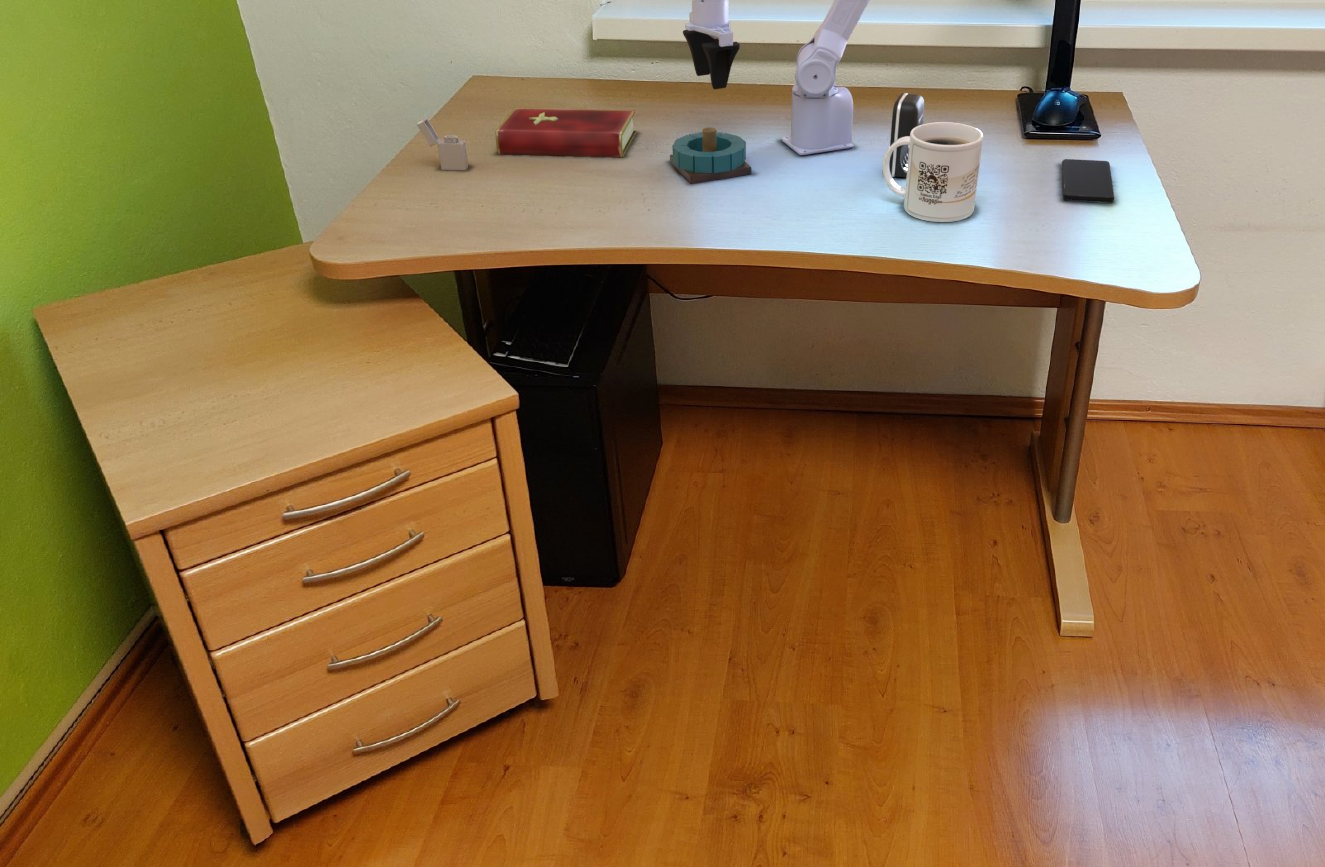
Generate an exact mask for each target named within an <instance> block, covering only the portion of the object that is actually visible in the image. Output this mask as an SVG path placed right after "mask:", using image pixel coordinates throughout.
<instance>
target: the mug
mask: <svg viewBox="0 0 1325 867" xmlns="http://www.w3.org/2000/svg"><path fill="white" fill-rule="evenodd" d="M983 141H984V134H983V132H982V131H981V130H980V129H979V128H976V127H975V126H972V125H969V124H965V123H959V122H950V121H937V122H936V121H935V122H929V123H923V125H919V126H917V127H915V128H913V129H912V131H911V132H910V136H906V137H902V138H899V139H898V140H896V141H895V142H894V143H893V144H892V145H891V146H890V145H889V148H888V149H887V150H886V152H885V154H884V155H883V160H882V176H883V180H884V182H885V183H886V186H887V187H888V189H889V190H891V192H893V193H894V194H895V195H898V196H900V197H904V201H903V209H904V211H905V213H907V214H908V215H910V216H911V217H913V218H916V219H919V220H921V221H927V222H933V223H951V222H952V223H953V222H958V221H963V220H965V219H967V218H969V217H971V216H972V214H973V213H974V211H975V207H976V206H975V205H976V197H977V190H978V189H977V188H978V181H979V173H980V166H981V159H982V158H981V157H982V149H983ZM901 145H909V154H908V165H907V176H906V177H905V187H903V186H901V185H900V184H898V183H897V182H896V181H895V180H894V177H892V176H891V174H890V169H889V162H890V157H891V154H892V152H893V151H894V149H896V148H897V147H899V146H901Z"/></svg>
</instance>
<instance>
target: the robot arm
mask: <svg viewBox="0 0 1325 867" xmlns="http://www.w3.org/2000/svg"><path fill="white" fill-rule="evenodd" d="M870 1H871V0H833V2H832V3H831V6H830V8H829V10H828V12H827V14H826V15H825V17H824V19H823V21H822V22H821V24H820V25H819V26H818V28H817V29H816V31H815V33H814V34H813V36H812V37H811V39H810V40H809V41H808V42H806V43H805V44H804V45H802V46H801V47H800V48H799V50H798V52H797V54H796V59H795V60H796V62H795V64H796V69H795V73H794V80H795V84H794V85H793V86H792V88H791V115H790V116H791V120H790V122H791V123H790V135H789V136H783V137H781V141H782V142H783V143H784V144H785V145H786V146H788V147H789V148H790V149H792V150H793V151H794V152H795V153H797V154H798V155H799V156H807V155H813V154H820V153H825V152H831V151H833V152H834V151H839V150H845V149H851V148H854V143H852V141H853V123H854V101H853V100H854V99H853V96H852V94H851V92H850V90H849V89H848V88H847V87H845V86H838V84H837V83H836V80H837V69H838V66H839V64H840V61H841V60H842V58H843V55H844V52H845V49H846V46H847V44H848V41H849V39H850V37H851V35H852V34H853V32H854V31H855V29H856V27H857V25H858V23H859V21H860V19H861V17H862V15H863V14H864V11H865V10H866V8H867V6H868V4H869V3H870ZM688 14H689V15H688V17H689V22H687V23H684V30H683V31H682V34H683V37H684V38H685V40H686V43H687V45H688V48H689V50H690V54H691V58H692V62H693V67H694V71H695V74H696V76H697V77H703V76H709V77H710V83H711V87H712V89H713V90H721V89H726V88H727V85H728V82H729V77H730V74H731V69H732V66H733V62H734V60H735V58H736V56H737V54H738V52H739V50H740V48H741V44H740V43H739V42H737V41H734V32H733V31H732V30H731V21H730V0H691V11H690V12H689V13H688Z"/></svg>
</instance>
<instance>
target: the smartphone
mask: <svg viewBox="0 0 1325 867" xmlns="http://www.w3.org/2000/svg"><path fill="white" fill-rule="evenodd" d="M1112 178H1113V177H1112V170H1111V165H1110V162H1109V161H1107V160H1094V159H1073V158H1065V159H1062V161H1061V179H1062V180H1061V182H1062V198H1063V200H1065V201H1075V202H1093V203H1113V202H1114V201H1115V195H1114V186H1113V179H1112Z"/></svg>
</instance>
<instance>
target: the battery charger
mask: <svg viewBox="0 0 1325 867" xmlns="http://www.w3.org/2000/svg"><path fill="white" fill-rule="evenodd" d="M924 115H925V100H924V97H923V96H922V95H920V94H917V93H916V94H915V93H909V92H904V93H900V94H899V96H898V97H897V98H896V100H895V102H894V104H893V108H892V115H891V116H892V117H891V128H890V130H891V131H890V141H889V147H890V146H891V145H892V144H893V143H894V142H895V141H896V140H898V139H899V138H902V137H906V136H910V132H911V131H912V129H913V128H915V127H917V126H919V125H923V124H924ZM908 154H909V145H901V146H899V147H897V148H896V149H894V151H893V152H892V154H891V157H890V162H889V169H890V174H891V176H892V178H895V177H896V178H906V176H907V165H908Z"/></svg>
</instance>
